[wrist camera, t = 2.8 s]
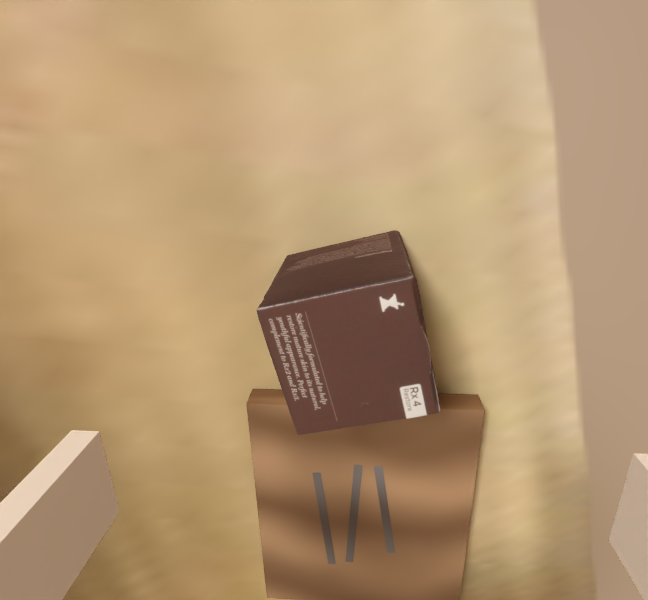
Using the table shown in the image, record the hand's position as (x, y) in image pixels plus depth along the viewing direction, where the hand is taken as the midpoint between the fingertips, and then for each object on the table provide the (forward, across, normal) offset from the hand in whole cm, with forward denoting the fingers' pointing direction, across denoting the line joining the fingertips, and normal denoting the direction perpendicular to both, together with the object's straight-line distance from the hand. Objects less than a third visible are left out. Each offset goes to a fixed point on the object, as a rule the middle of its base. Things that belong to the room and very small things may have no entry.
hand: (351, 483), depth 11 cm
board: (+13, 0, -14) cm, 19 cm away
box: (+13, 0, 0) cm, 13 cm away
